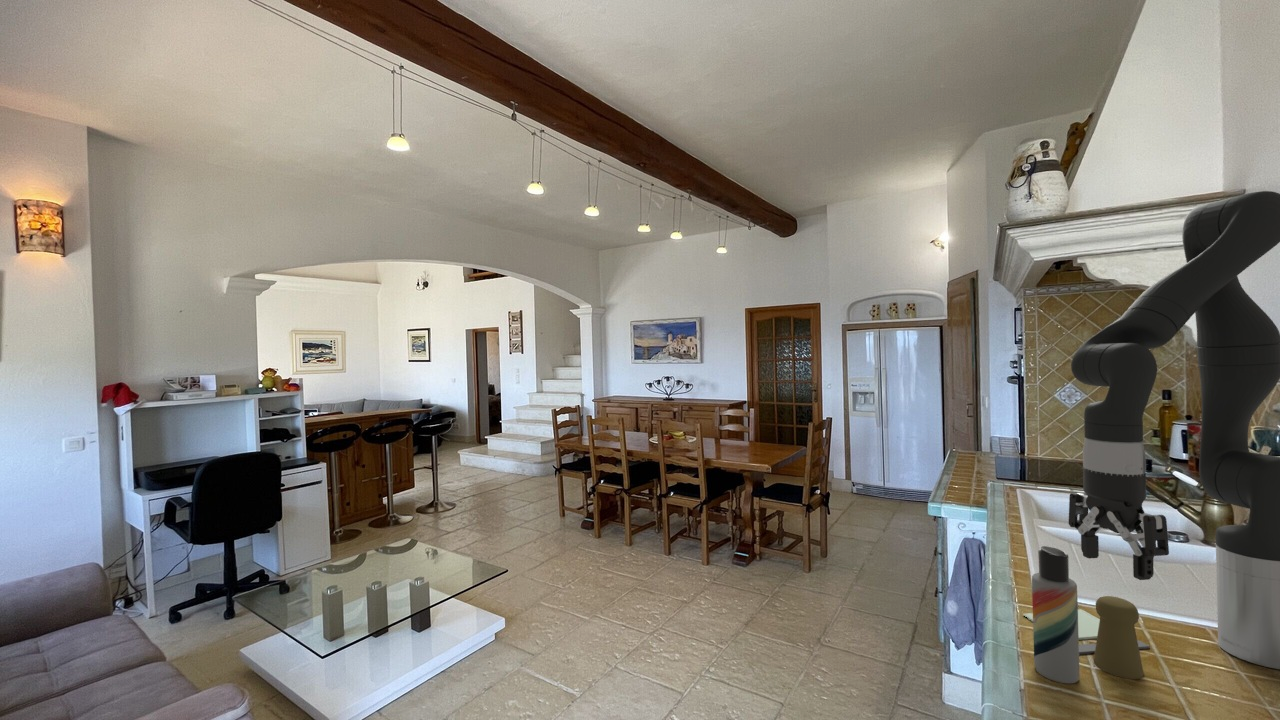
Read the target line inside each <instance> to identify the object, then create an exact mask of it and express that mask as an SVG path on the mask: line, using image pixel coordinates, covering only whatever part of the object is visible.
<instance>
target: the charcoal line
mask: <svg viewBox="0 0 1280 720" xmlns="http://www.w3.org/2000/svg"><path fill="white" fill-rule="evenodd" d="M1137 642H1138V647H1139V650H1146V649H1150V648H1151V646H1150V645H1149V644H1147V643H1145V642H1143V641H1141V640H1139V639H1137ZM1095 648H1096V643H1095V642H1094V643H1085V644H1084V643H1083V644H1079V656H1080V655H1089V654H1090V655H1091V654H1095Z"/></svg>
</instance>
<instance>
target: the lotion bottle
mask: <svg viewBox="0 0 1280 720" xmlns="http://www.w3.org/2000/svg"><path fill="white" fill-rule="evenodd" d="M1037 552H1038V554H1037V555H1038V572H1036V573H1033V574H1032V577H1031V598H1032V599H1031V600H1032V602H1031V603H1032V613H1033V622H1032V632H1033V633H1032V635H1033V638H1032V639H1033V660H1034V661H1033V662H1034V668H1035V670H1036V672H1037V673H1039V675H1041V676H1042V677H1045V678H1047V679H1048V680H1050V681H1054V682H1057V683H1061V684H1075V683H1077V682H1078V681H1079V680H1080V655H1079V645H1080V644H1079V643H1080V642H1079V641H1080V640H1079V635H1078V609H1079V608H1078V607H1079V606H1078V601H1079V600H1078V585H1077V582H1075V581H1074V580H1073V579H1071V578H1070V576H1069V575H1070V574H1069V572H1070V571H1069V570H1070V568H1069V566H1070V565H1069V563H1070V562H1069V554H1068V553H1067V552H1066V551H1064V550H1062V549H1061V548H1059V547H1058V548H1057V547H1054V546H1053V547H1052V546H1048V545H1047V546H1046V545H1042V546H1041V547H1040V548H1039V549H1038V551H1037Z"/></svg>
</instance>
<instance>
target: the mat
mask: <svg viewBox="0 0 1280 720" xmlns="http://www.w3.org/2000/svg"><path fill="white" fill-rule="evenodd" d="M1024 616H1025V617H1027V618H1028V619H1027V618H1026V619H1027V620H1029V621H1030V620H1031V621H1030V622H1032V623H1033V612H1028V613H1022V617H1024ZM1025 617H1024V618H1025ZM1099 622H1100V618H1098V617H1097V616H1094V615H1093V614H1091V613H1089V612H1087V611H1085V610H1084V609H1081V608H1078V635H1079V641H1081V640H1093V639H1097V635H1098V628H1099Z"/></svg>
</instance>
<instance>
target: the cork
mask: <svg viewBox="0 0 1280 720" xmlns="http://www.w3.org/2000/svg"><path fill="white" fill-rule="evenodd" d="M1095 610H1096V614H1097V615H1098V616H1099V619H1100V622H1099V628H1098V635H1097V638H1096V648H1095V653H1094V656H1093V662H1094V663H1093V664H1095V666H1096V667H1098V668H1099V669H1100V670H1102V671H1104V672H1106V673H1107V674H1111V675H1113V676H1116V677H1120V678H1124V679H1130V680H1139V679H1141V678H1144V676H1145V674H1144V669H1143V668H1144V667H1143V663H1142V658H1141V653H1140V649H1139V647H1138V642H1137V640H1138V636H1137V632H1136V627H1135V625H1136V624H1137V623H1138V622H1139V618H1140V614H1139V611H1138V610H1139V609H1138V608H1137V607H1136V605H1134V603H1132V602H1131V601H1129V600H1127V599H1125V598H1120V597H1118V596H1112V595H1111V596H1110V595H1104V596H1099V598H1097V599H1096V600H1095Z"/></svg>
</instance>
